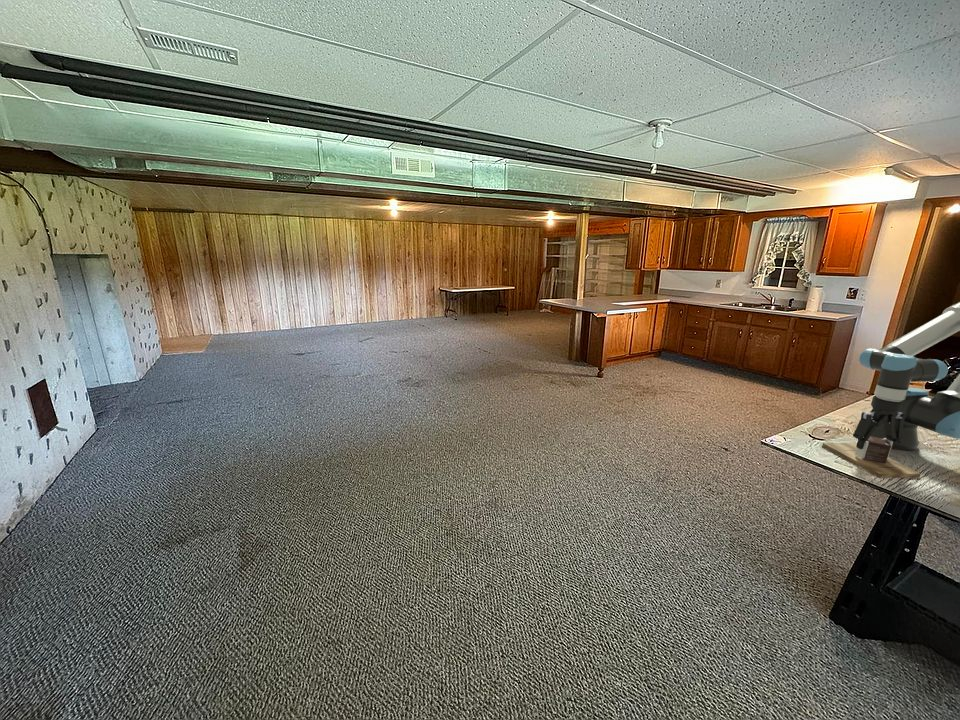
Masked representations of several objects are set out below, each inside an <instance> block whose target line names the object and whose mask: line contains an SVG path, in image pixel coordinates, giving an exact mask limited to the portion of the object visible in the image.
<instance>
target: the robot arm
mask: <svg viewBox="0 0 960 720" xmlns="http://www.w3.org/2000/svg"><path fill="white" fill-rule="evenodd" d="M958 332H960V301H958V302H957V303H954V304H952V305H949V307H946V308H945V309H944V310H943V311H942V313H941V314H940V315H938V316H937V317H935V318H933V319H931V320H930V321H928V322H926V323H924V324H923V325H921V326H920V325H919V327H917V328H915V329H913V330H911V331H910V332H907V334H904V335H903V336H900V337H899V338H897V339H895V340H893V341H891V342H890V343H889V344H886V345H885V346H883V347H882V348H879V349H878V348H866V349H863V351H862V352H861V353H860V355H859V357H858V362H859V364H860V365H861V366H863V367H865V368H868V369H871V370H875V371H879V374H878V379H877V381H876V386H875V390H874V391H873V392H874V393H873V394H874V396H872V399H871V402H870V405H871V408H872V409H871V411H870V412H864V411H863V412H861V414H860V419H859V422H858V423H857V426H856V427H855V430H854V432H853V434H852V437H853V438H854V439H856V440H857V442H856V443H857V445H856V447H857V449H856V452H855V455H857V456H859V457H861V458H864V457H865V454H866V451H867V447H868V444H869V442H868V441H867V440H868V439H869V437H870V436H871V437H877V438H882V439H886V440H887V441H888V442H889V444H890V445H891V448H890V451H889V454H888V457H887V458H890V454H891V450H892V449H895V450H902V451H916V450H918V448H919V445H920V442H919V436H918V427H920V428H923V429H925V430H927V431H928V430H929V431H932V432H935V433H937V434H938V435H940V436H945V437H949V438H953V439H959V440H960V373H958V375H957V376H956V378H955V379H954V380H953V382H951V384H950V385H949V386H948V388H947V389H946V390H942V391H937V392H936V393H935V395H934V396H929V395H930V391H929V390H927V389H923V388H917V387H911V386H910V384H911V383H913V382H914V383H915V382H917V383H918V382H927V383H928V382H936V381H941V380H942V379H945V377H946V376H947V375H948V374H949V373H948V372H949V368H948V366H947V364H946V363H945V362H943V361H942V360H939V359H934V358H933V359H932V358H927V359H926V358H925V359H923V358H918V357H916V355H917V354H920V353H921V352H923V351H925V350H927V349H929V348H930V347H933V346H934V345H936V344H938V343H939V342H942V341H944V340H945V339H947V338H949V337H951V336H953V335H954V334H956V333H958Z"/></svg>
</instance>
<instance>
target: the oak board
mask: <svg viewBox="0 0 960 720" xmlns="http://www.w3.org/2000/svg"><path fill="white" fill-rule="evenodd" d="M856 445H857V442H822V445H821V447H822V448H824V449H826V450H828V451H830V452H832V453H834V454H835V455H837V456H839V457H841V458H843V459H845V460H846V461H848V462H850V463H851V464H853V465H854V466H857V467H858V468H860V469H862V470H863V471H866V472H868V473H869V474H871V475H873V476H875V477H877V478H887V479H888V478H895V479H896V478H899V479H901V478H902V479H903V478H905V479H906V478H907V479H908V478H910V479H911V478H913V479H915V478H916V479H917V478H921V475H922V473H921V472H918V471H917V470H914V469H913V468H910V467H908V466H906V465H904V464H902V463H900V462H897V461H896V460H894V459H892V458H890V457H888V458H887V460H886V464H883V463H878V462H874V461H869V460H864V459H862V458H861V457H859V456H857V455H855V452H856V449H857V447H856Z"/></svg>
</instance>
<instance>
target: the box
mask: <svg viewBox="0 0 960 720" xmlns="http://www.w3.org/2000/svg"><path fill="white" fill-rule="evenodd" d="M867 441H868V442H869V444H868V447H867V451H866V454H865V457H864V458H862V459H864V460H869V461H874V462H878V463H883V464H886V460H887V457H888V454H889V451H890V452H891V450H890V448H891V445H890V444H889V442H888V441H887V440H886V439H882V438H877V437H871V436H870V437H869V439H868V440H867ZM891 449H892V448H891ZM889 455H890V454H889ZM888 458H889V457H888Z"/></svg>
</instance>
